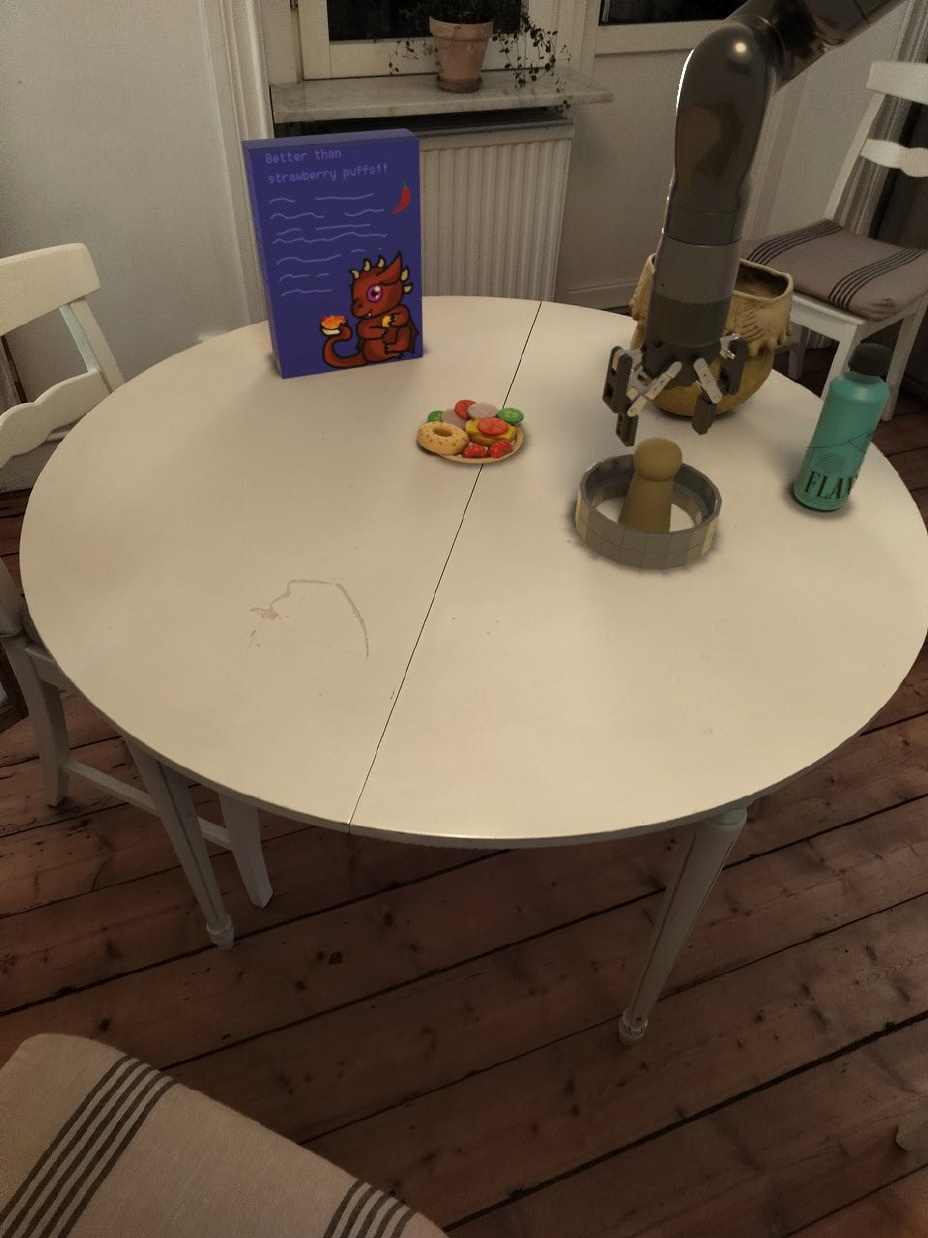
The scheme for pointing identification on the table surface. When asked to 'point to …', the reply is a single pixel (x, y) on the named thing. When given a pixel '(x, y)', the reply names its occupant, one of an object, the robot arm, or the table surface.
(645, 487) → the tan game pawn
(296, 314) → the cereal box
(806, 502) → the beverage bottle
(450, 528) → the table surface
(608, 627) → the table surface
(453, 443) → the toy food set
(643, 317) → the clay pot
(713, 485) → the tiled ring wall
